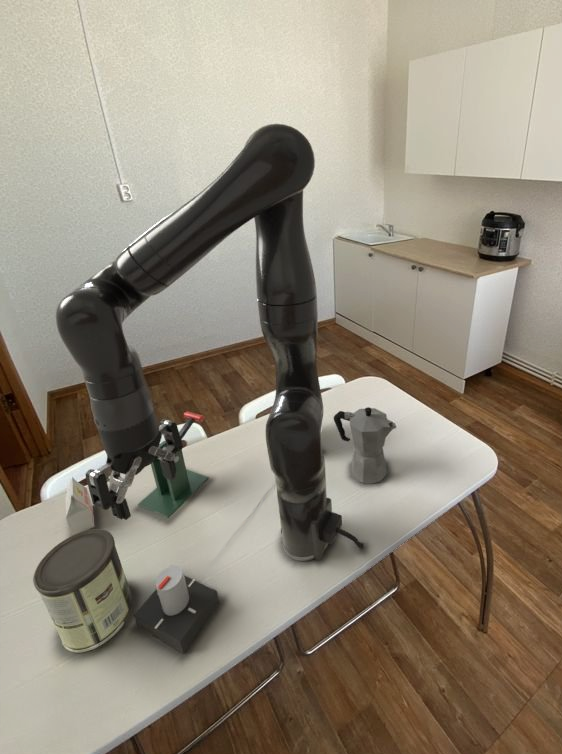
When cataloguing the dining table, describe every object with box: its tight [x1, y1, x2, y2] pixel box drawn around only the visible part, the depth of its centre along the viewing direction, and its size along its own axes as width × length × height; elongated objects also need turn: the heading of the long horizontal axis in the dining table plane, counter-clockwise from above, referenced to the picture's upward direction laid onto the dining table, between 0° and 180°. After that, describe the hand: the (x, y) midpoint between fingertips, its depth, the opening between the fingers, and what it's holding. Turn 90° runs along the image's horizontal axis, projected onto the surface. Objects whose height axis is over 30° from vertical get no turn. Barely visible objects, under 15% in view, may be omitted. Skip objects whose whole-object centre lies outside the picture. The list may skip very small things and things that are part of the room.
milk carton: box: [65, 476, 96, 536], centre depth 79 cm, size 4×7×10 cm, turn 36°
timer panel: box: [133, 575, 220, 654], centre depth 64 cm, size 10×8×3 cm
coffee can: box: [32, 528, 133, 654], centre depth 61 cm, size 10×10×14 cm
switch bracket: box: [137, 440, 210, 519], centre depth 86 cm, size 12×9×13 cm
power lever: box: [156, 411, 205, 462], centre depth 87 cm, size 12×5×2 cm, turn 159°
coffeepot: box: [333, 406, 397, 485], centre depth 91 cm, size 15×9×18 cm, turn 70°
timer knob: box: [155, 564, 189, 616], centre depth 62 cm, size 4×4×6 cm
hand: (148, 496), depth 63 cm, fingers open, 8 cm apart
